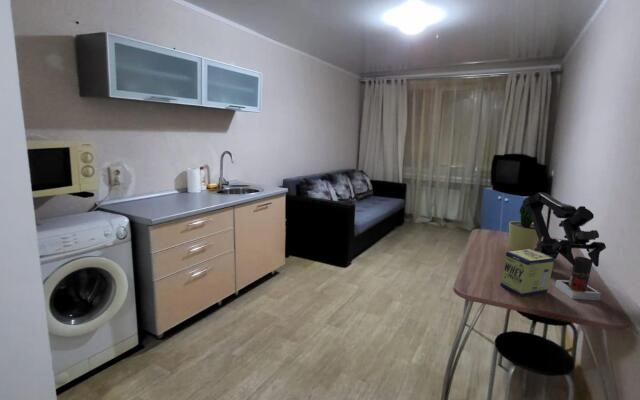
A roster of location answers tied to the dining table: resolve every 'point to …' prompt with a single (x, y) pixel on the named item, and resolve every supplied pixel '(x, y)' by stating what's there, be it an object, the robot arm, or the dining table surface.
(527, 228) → the potted cactus
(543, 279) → the protein box
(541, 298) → the dining table surface
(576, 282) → the deodorant
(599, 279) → the dining table surface
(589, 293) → the collar
